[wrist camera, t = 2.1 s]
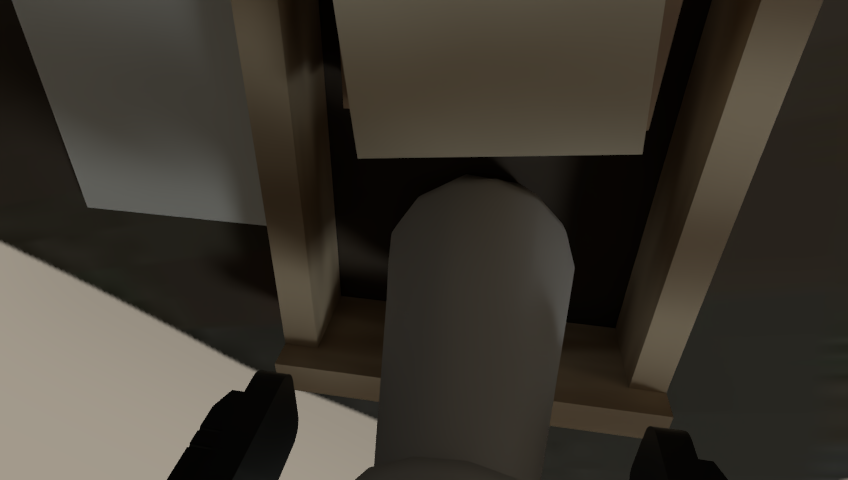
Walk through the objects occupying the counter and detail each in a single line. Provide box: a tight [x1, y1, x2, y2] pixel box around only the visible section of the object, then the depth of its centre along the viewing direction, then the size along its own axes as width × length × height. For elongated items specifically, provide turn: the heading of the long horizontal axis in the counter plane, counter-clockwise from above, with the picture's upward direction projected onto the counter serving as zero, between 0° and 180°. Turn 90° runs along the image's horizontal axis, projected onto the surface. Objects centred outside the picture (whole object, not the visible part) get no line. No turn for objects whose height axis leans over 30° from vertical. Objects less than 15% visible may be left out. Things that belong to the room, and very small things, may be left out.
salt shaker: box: [355, 174, 575, 480], centre depth 13 cm, size 6×6×13 cm
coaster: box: [12, 0, 267, 226], centre depth 18 cm, size 8×8×1 cm
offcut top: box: [333, 0, 666, 159], centre depth 11 cm, size 4×6×3 cm, turn 95°
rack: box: [231, 0, 823, 439], centre depth 16 cm, size 15×13×4 cm
